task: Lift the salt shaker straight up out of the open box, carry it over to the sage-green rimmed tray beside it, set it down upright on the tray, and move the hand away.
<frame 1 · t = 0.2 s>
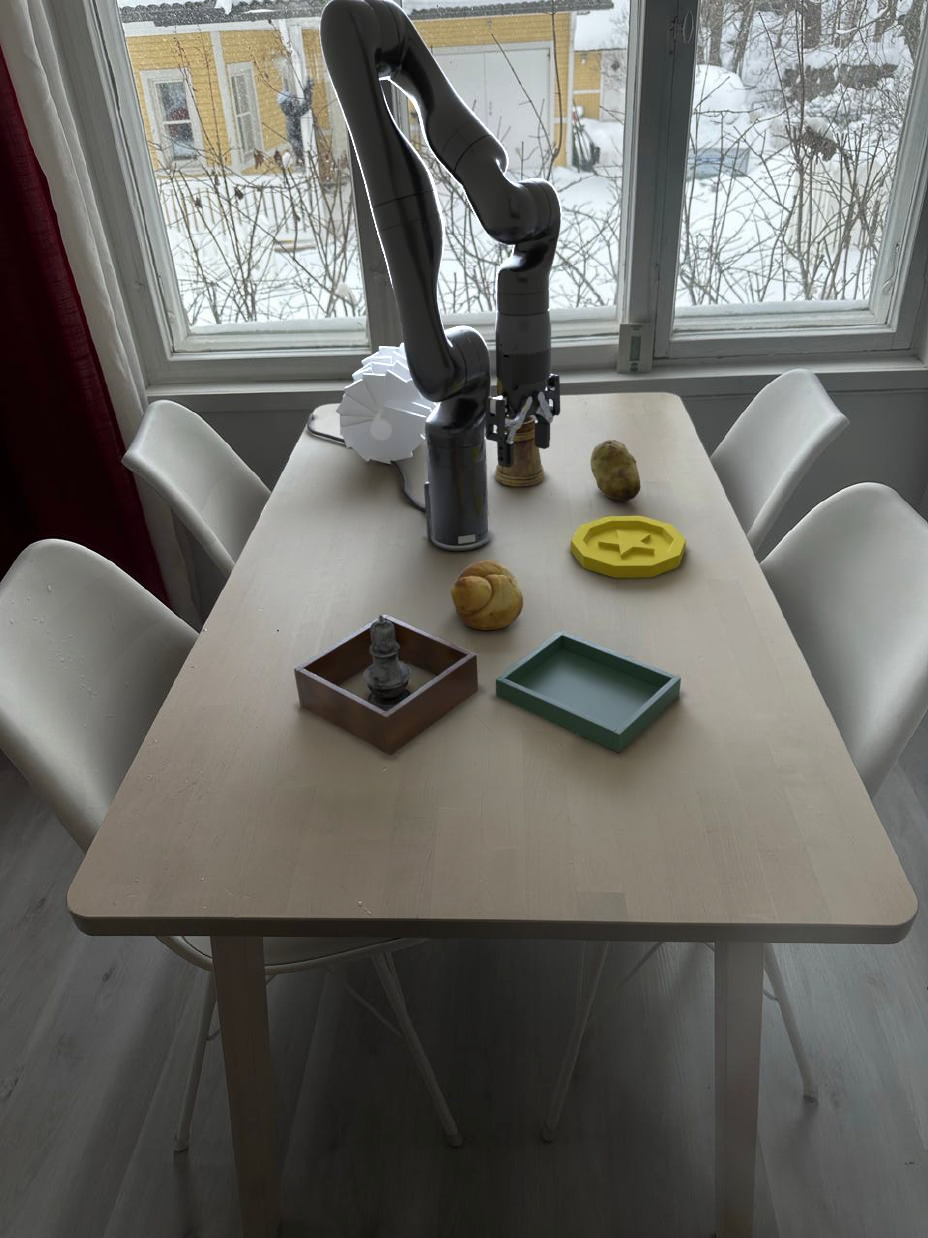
hand: (524, 456, 133), 17 cm above the table, tool pointing down, fingers open, 8 cm apart
bread roll: (488, 613, 130), on the table
salt shaker: (389, 699, 114), resting in open box
decorative disc: (627, 552, 144), on the table
spiral staircase: (392, 446, 187), on the table
open box: (389, 698, 114), on the table
wooden mug: (518, 473, 172), on the table
tray: (587, 695, 113), on the table
potato: (613, 492, 163), on the table
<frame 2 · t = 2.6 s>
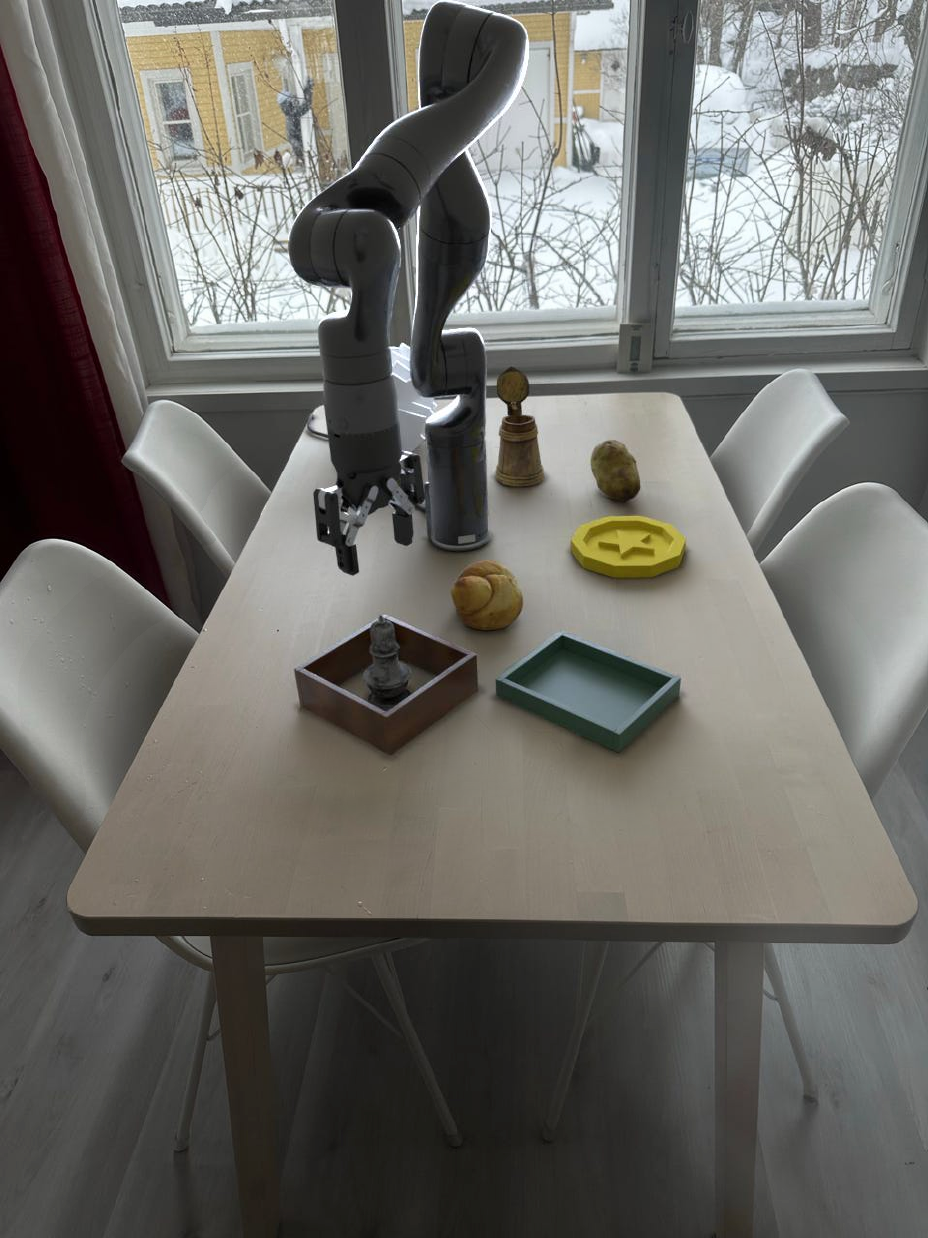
hand: (377, 557, 104), 20 cm above the table, tool pointing down, fingers open, 8 cm apart
nothing on the table moved.
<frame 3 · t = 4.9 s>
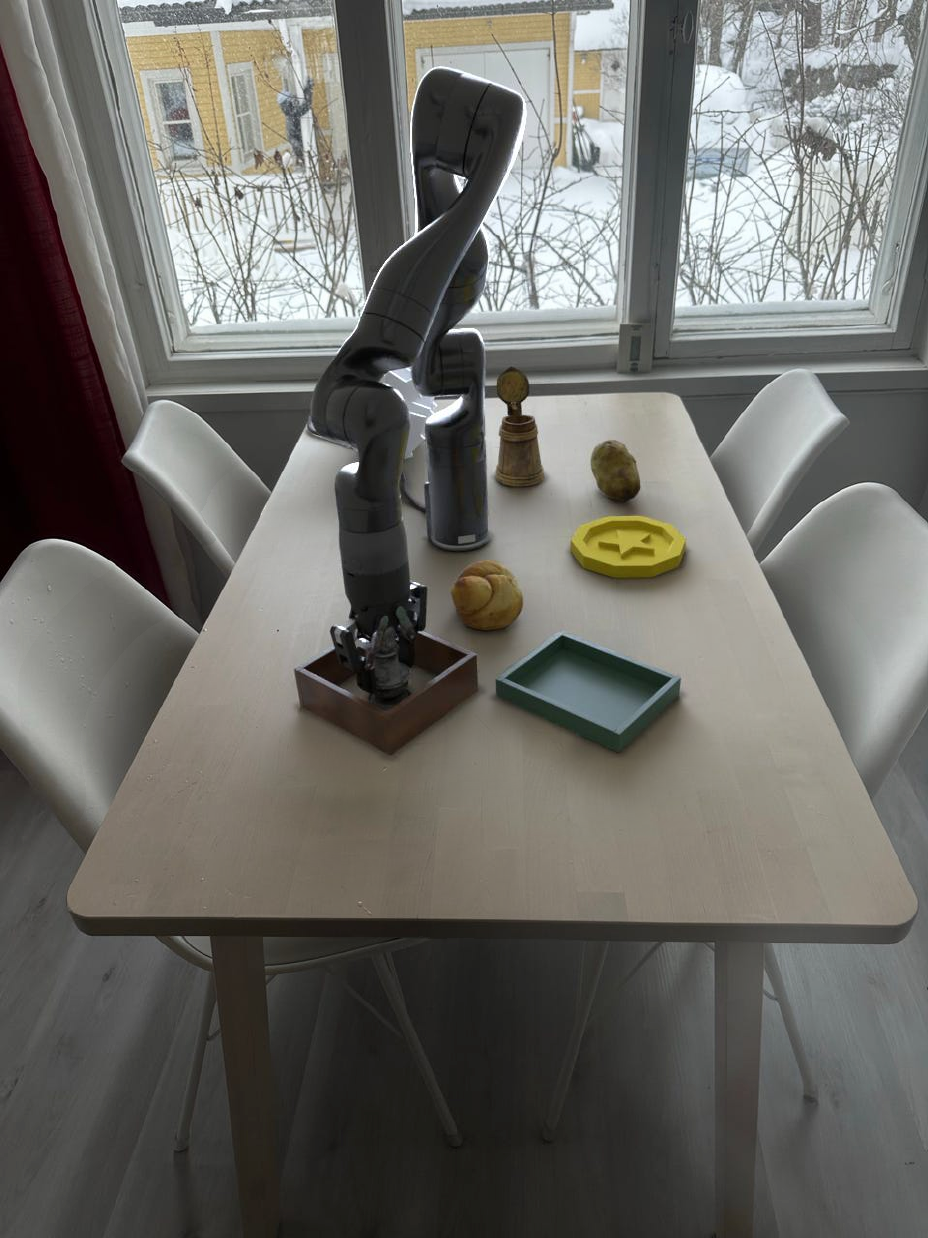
hand: (387, 678, 112), 3 cm above the table, tool pointing down, fingers closed on salt shaker, 6 cm apart
salt shaker: (389, 699, 114), resting in open box, touching gripper
everything else where it was.
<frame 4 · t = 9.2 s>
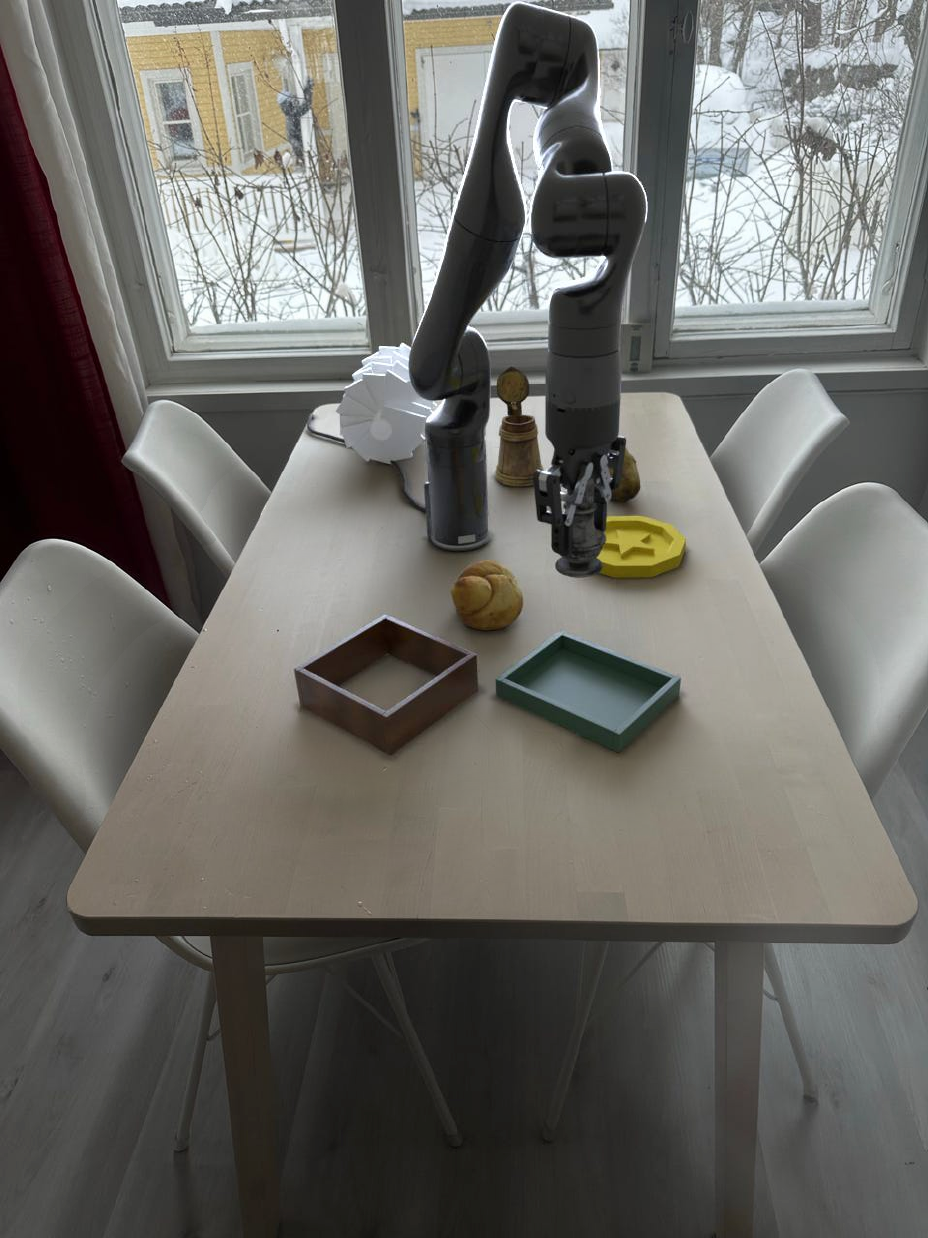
hand: (579, 541, 102), 21 cm above the table, tool pointing down, fingers closed on salt shaker, 6 cm apart
salt shaker: (578, 567, 103), point 18 cm above the table, touching gripper
everything else where it was.
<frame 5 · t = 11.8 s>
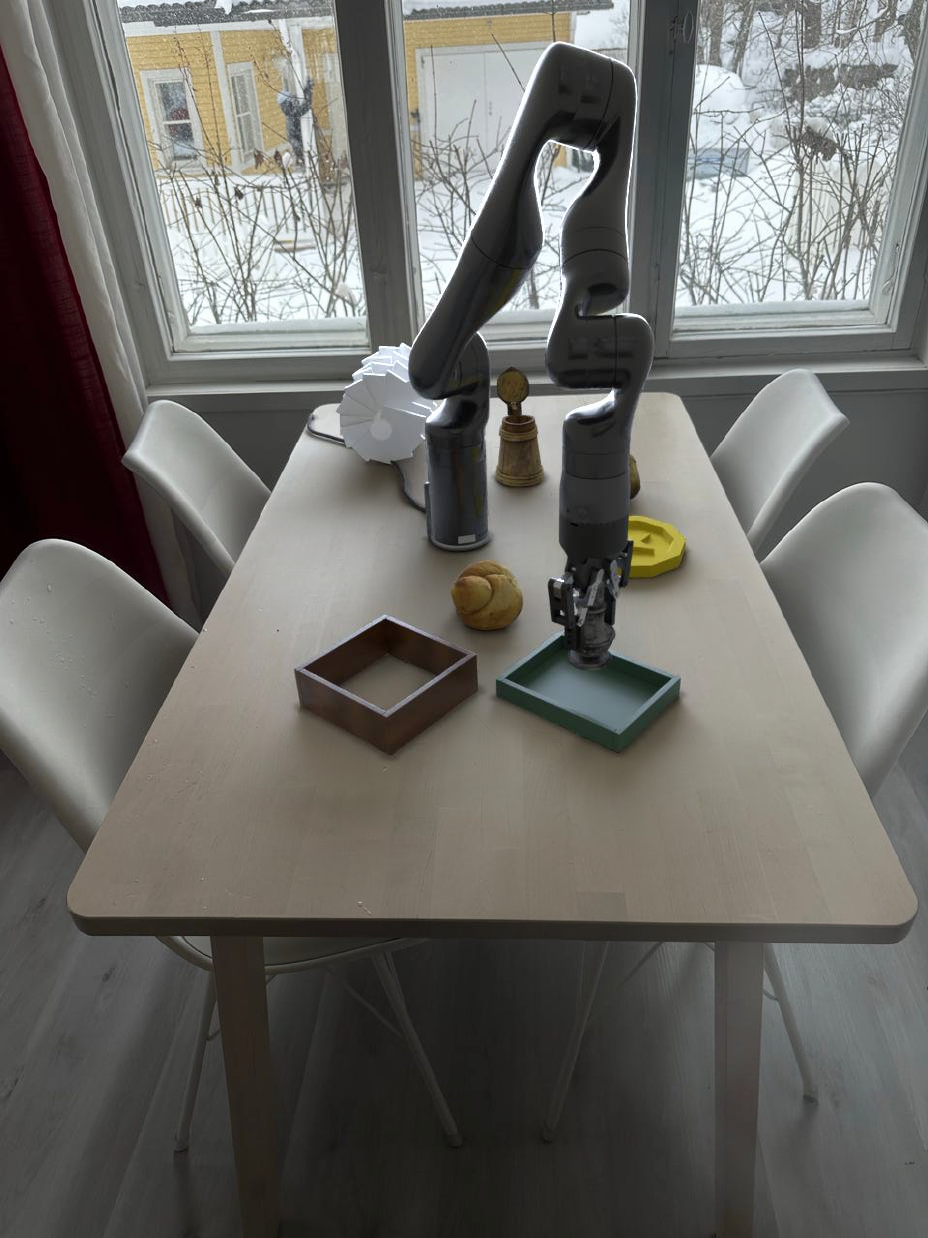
hand: (589, 636, 108), 9 cm above the table, tool pointing down, fingers closed on salt shaker, 6 cm apart
salt shaker: (589, 659, 110), point 5 cm above the table, touching gripper
everything else where it was.
when the fingers open (4 cm above the table, at t = 13.6 s): salt shaker stays where it is, resting on tray.
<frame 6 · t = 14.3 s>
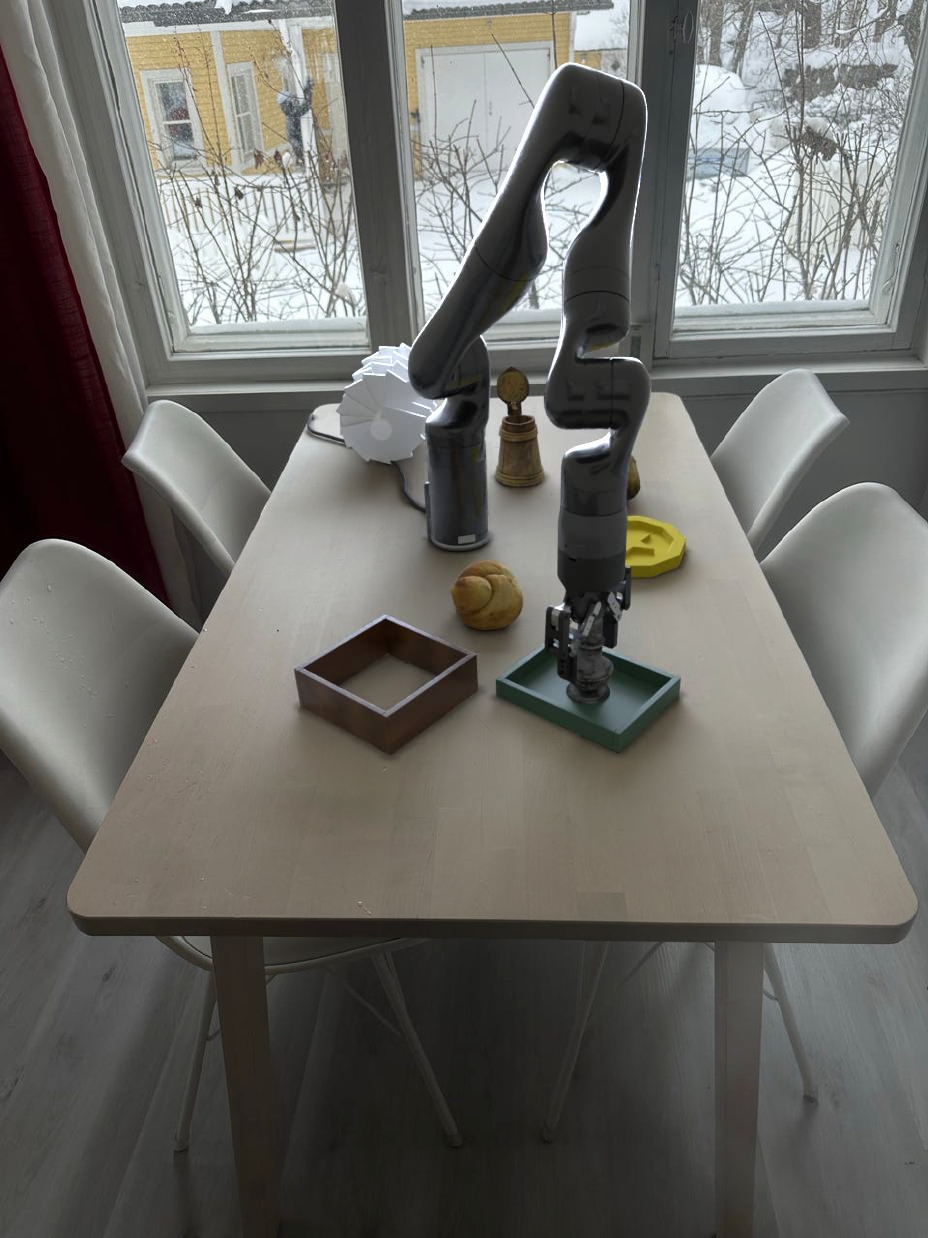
hand: (587, 661, 110), 5 cm above the table, tool pointing down, fingers open, 8 cm apart
salt shaker: (588, 692, 113), resting on tray
everything else where it was.
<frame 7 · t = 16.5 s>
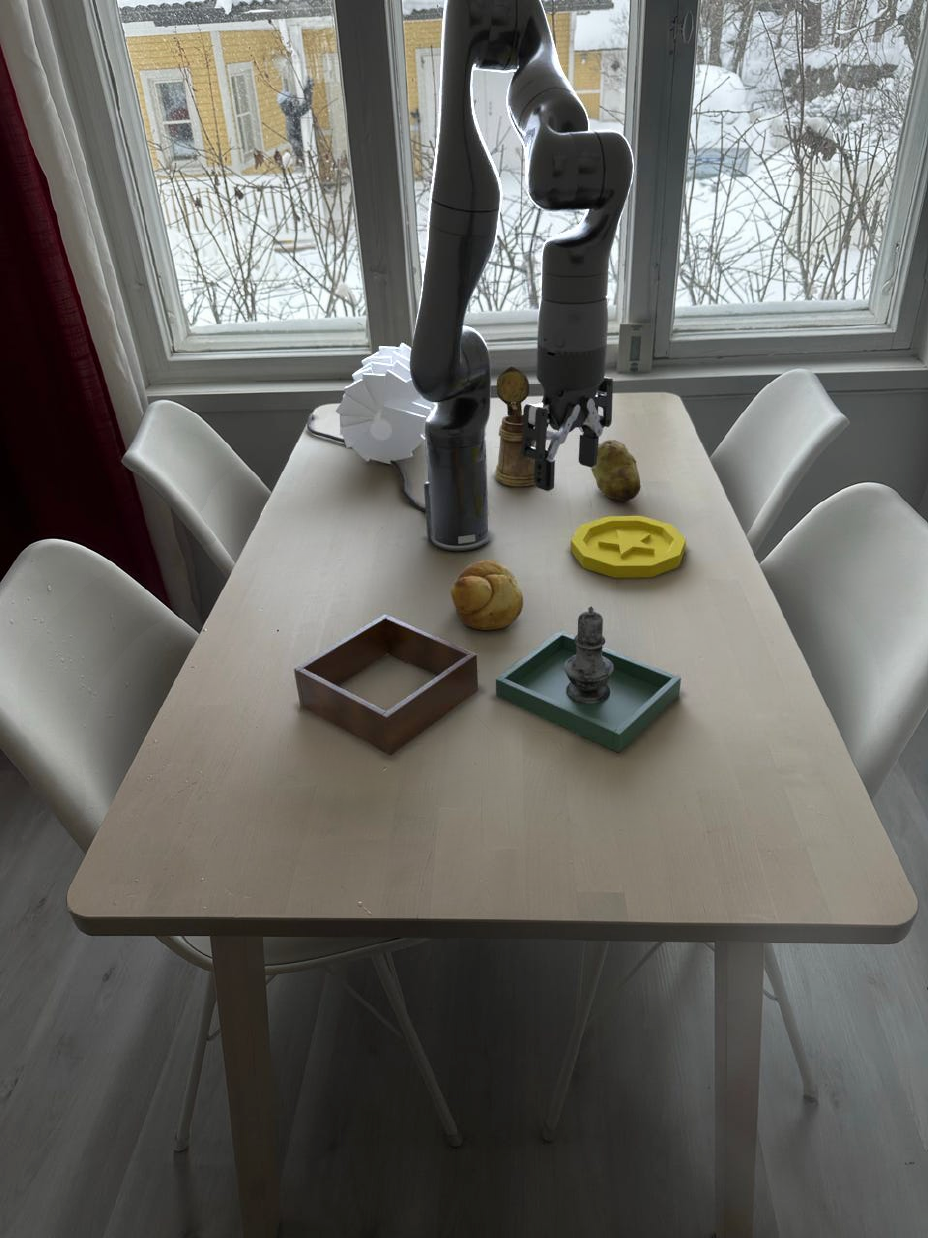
hand: (566, 476, 109), 24 cm above the table, tool pointing down, fingers open, 8 cm apart
nothing on the table moved.
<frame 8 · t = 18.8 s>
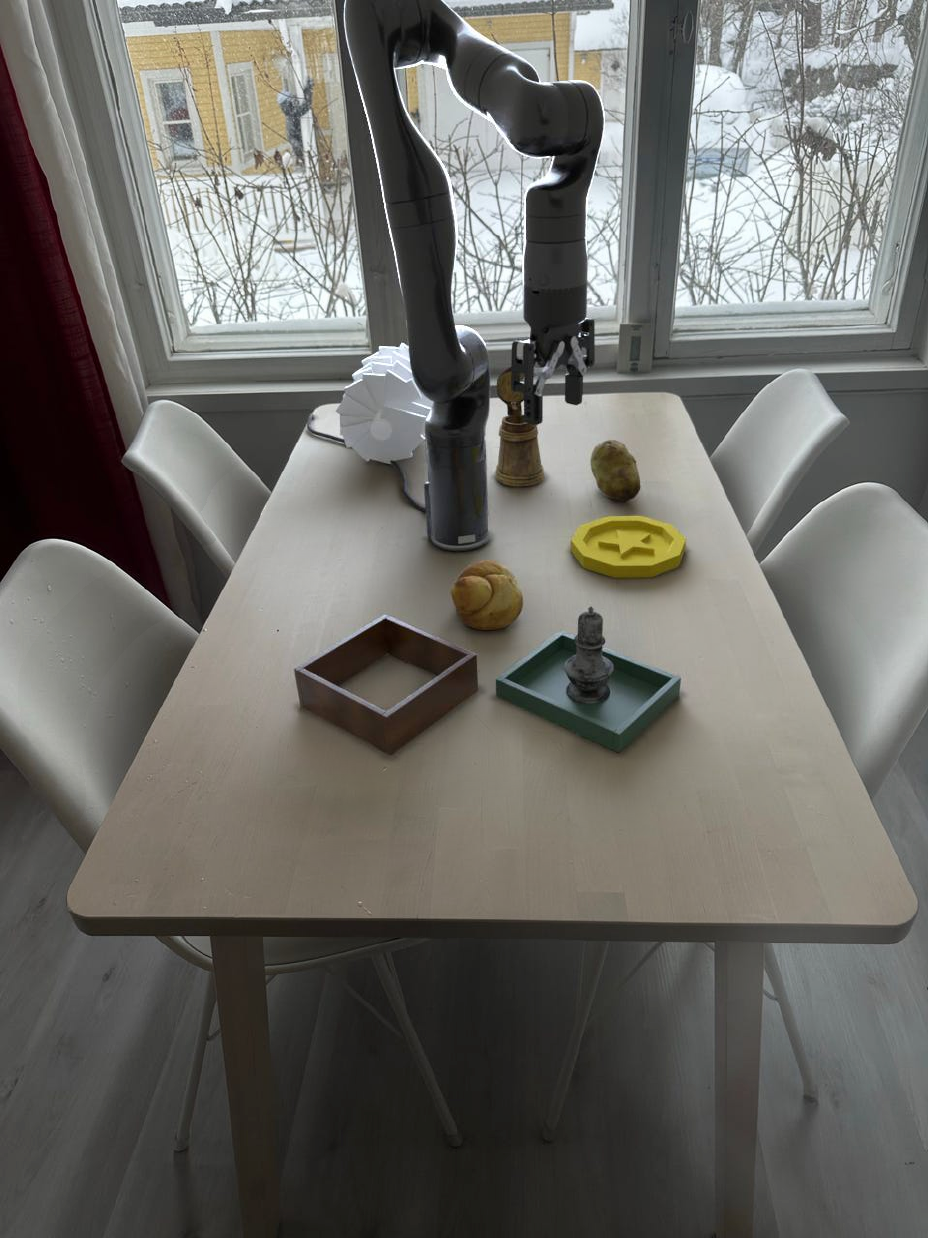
hand: (553, 413, 116), 28 cm above the table, tool pointing down, fingers open, 8 cm apart
nothing on the table moved.
at the end: salt shaker inside the target area on the tray (0.2 cm from its centre), point 0.4 cm above the tray's base; salt shaker tilted 0°; the gripper is holding nothing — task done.
